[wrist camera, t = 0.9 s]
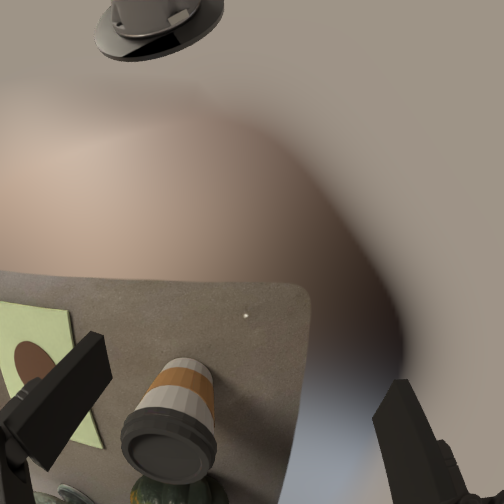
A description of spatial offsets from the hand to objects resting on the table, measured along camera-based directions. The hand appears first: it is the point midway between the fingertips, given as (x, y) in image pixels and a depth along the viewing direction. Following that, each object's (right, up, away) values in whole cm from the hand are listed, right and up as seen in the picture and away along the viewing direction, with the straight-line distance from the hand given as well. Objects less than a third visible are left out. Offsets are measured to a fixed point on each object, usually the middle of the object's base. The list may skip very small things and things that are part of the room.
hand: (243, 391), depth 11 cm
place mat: (-34, -14, +19) cm, 41 cm away
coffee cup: (-8, -10, +21) cm, 24 cm away
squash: (-11, -32, +22) cm, 40 cm away
